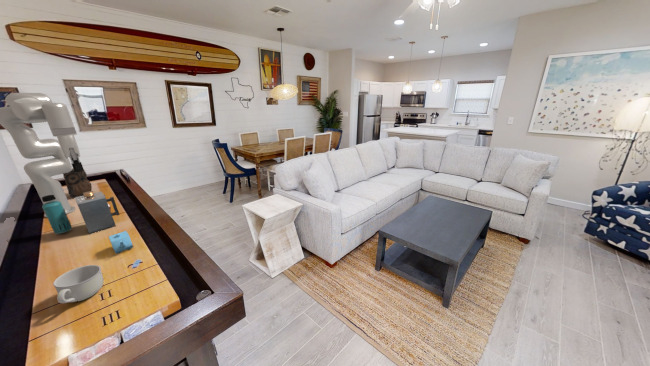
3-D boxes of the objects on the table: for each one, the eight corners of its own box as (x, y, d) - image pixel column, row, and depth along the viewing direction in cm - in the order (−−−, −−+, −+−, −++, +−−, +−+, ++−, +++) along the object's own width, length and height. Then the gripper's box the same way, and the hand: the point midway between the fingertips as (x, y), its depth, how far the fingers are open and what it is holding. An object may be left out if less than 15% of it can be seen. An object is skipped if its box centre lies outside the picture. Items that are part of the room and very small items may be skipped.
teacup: (83, 283, 83) (74, 264, 81) (115, 280, 84) (108, 262, 82) (42, 317, 70) (30, 296, 68) (81, 314, 71) (70, 293, 68)
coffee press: (87, 227, 121) (74, 197, 116) (119, 218, 131) (109, 189, 125) (89, 234, 115) (76, 202, 110) (123, 223, 125) (113, 194, 119)
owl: (94, 190, 174) (84, 164, 167) (94, 195, 166) (84, 167, 159) (69, 195, 166) (58, 168, 159) (69, 200, 157) (56, 172, 151)
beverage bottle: (61, 237, 113) (43, 199, 107) (51, 235, 115) (33, 198, 108) (77, 230, 119) (61, 193, 113) (67, 229, 121) (51, 192, 114)
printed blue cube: (135, 252, 101) (130, 236, 98) (117, 259, 96) (111, 243, 94) (129, 241, 108) (124, 227, 106) (112, 247, 104) (107, 232, 101)
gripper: (51, 131, 108) (66, 170, 114) (52, 134, 98) (69, 176, 105) (74, 130, 113) (88, 166, 119) (77, 132, 104) (92, 172, 110)
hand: (79, 171), depth 112 cm, fingers closed
